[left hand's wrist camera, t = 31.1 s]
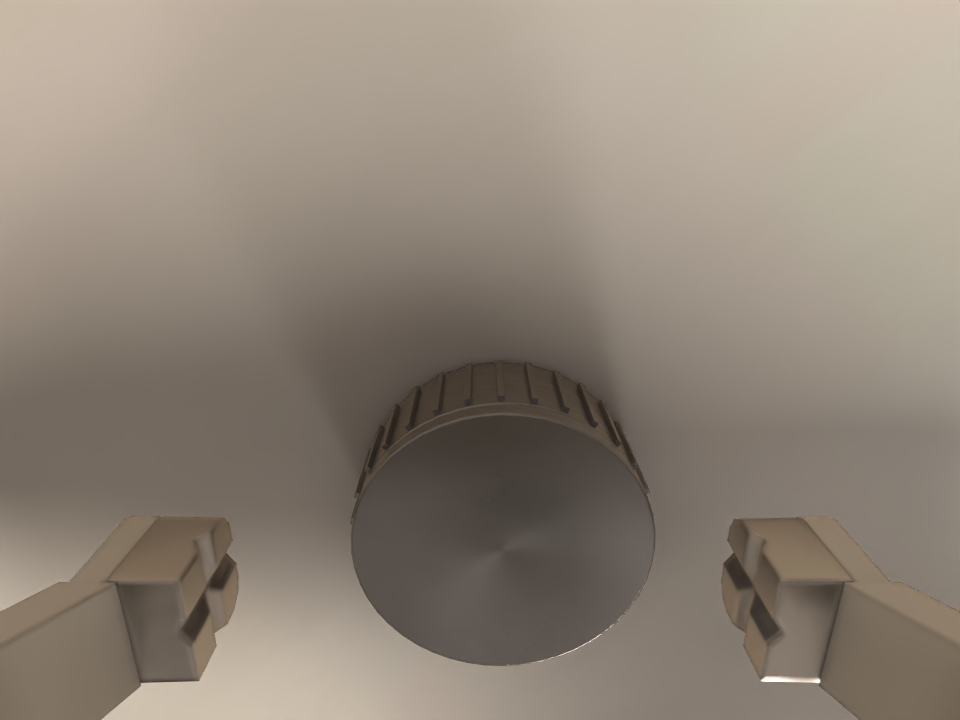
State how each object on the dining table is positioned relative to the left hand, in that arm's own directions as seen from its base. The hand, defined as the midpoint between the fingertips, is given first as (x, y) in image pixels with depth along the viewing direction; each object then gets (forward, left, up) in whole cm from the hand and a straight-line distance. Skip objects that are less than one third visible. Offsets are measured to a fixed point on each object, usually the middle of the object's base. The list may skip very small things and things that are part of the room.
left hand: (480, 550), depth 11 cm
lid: (0, 0, 0) cm, 1 cm away
